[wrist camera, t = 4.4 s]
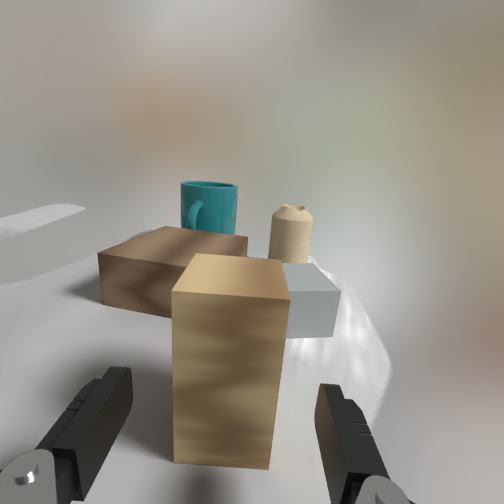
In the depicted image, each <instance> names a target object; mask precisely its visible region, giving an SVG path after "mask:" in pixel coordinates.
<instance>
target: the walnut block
mask: <svg viewBox="0 0 504 504" xmlns="http://www.w3.org/2000/svg"><path fill="white" fill-rule="evenodd" d="M247 245H248V237H245V236H238V235H230V234H223V233H215V232H207V231H200V230H192V229H185V228H177V227H169V226H164V227H161V228H159V229H156V230H154V231H151V232H149V233H146V234H144V235H141V236H139V237H136V238H134V239H131V240H129V241H126V242H124V243H121V244H118V245H116V246H113V247H111V248H108V249H106V250H103V251H101V252H98V263H99V273H100V283H101V293H102V302H103V305H107V306H112V307H117V308H122V309H127V310H132V311H137V312H142V313H147V314H152V315H157V316H162V317H167V318H172V300H171V290H172V289H173V287H174V286H175V284H176V283H177V281H178V280H179V278H180V277H181V275H182V274H183V272H184V271H185V269H186V268H187V266H188V265H189V263H190V262H191V260H192V259H193V257H194V255H195V254H196V253H199V254H212V255H225V256H238V257H247Z"/></svg>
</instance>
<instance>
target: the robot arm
mask: <svg viewBox="0 0 504 504" xmlns="http://www.w3.org/2000/svg"><path fill="white" fill-rule="evenodd" d="M132 401H133V390H132V375H131V369H130V368H127V367H114V366H111V367H110V368H109V369H108V370H107V372H106V373H105V374H104V376H103V377H102V379H94V380H92V381H91V382H90V383H88V384H87V385H86V386H84V387H83V388H82V389H81V390H80V392H79V393H78V394H77V396H76V397H75V398H74V400H73V401H72V402H71V403H70V405H69V406H68V407H67V408H66V411H64V412H63V414H62V415H61V416H60V417H59V419H58V420H57V421H56V423H55V424H54V425H53V426H52V428H51V429H50V430H49V432H48V433H47V434H46V436H45V437H44V438H43V439H42V441H41V442H40V443H39V445H38V446H37V447H36V448H35V449H34V450H32V451H29V452H26V453H24V454H22V455H20V456H19V457H17V458H16V459H14V460H13V461H12V462H10V463H9V464H8V465H7V466H6V467H5V468H4V469H3V470H0V504H70V503H71V501H72V500H74V501H84V500H85V498H86V496H87V494H88V492H89V490H90V488H91V486H92V484H93V482H94V480H95V478H96V476H97V474H98V472H99V470H100V468H101V466H102V465H103V463H104V461H105V459H106V457H107V455H108V453H109V451H110V449H111V447H112V445H113V443H114V441H115V439H116V437H117V435H118V433H119V431H120V429H121V428H122V426H123V424H124V422H125V420H126V418H127V416H128V414H129V412H130V409H131V406H132ZM315 429H316V434H317V438H318V443H319V448H320V453H321V457H322V462H323V467H324V472H325V477H326V481H327V486H328V491H329V496H330V500H331V504H415V503H413V502H412V501H410V500H409V499H407V497H406V495H405V494H404V492H403V491H402V490H401V489H400V488H399V487H398V486H397V485H396V484H395V483H394V482H392V481H391V480H390V478H389V476H388V474H387V471H386V468H385V466H384V463H383V461H382V458H381V456H380V454H379V451H378V449H377V446H376V444H375V441H374V439H373V436H371V432H370V429H369V427H368V425H367V422H366V419H365V417H364V415H363V412H362V410H361V409H360V408H359V407H358V405H357V404H356V403H355V402H354V401H353V400H352V399H344V396H343V393H342V390H341V388H340V386H339V385H335V384H322V383H321V384H320V386H319V392H318V397H317V402H316V408H315Z"/></svg>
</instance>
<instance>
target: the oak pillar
mask: <svg viewBox="0 0 504 504" xmlns="http://www.w3.org/2000/svg"><path fill="white" fill-rule="evenodd" d="M171 300H172V369H173V438H174V463H181V464H195V465H209V466H223V467H237V468H251V469H265V470H269V463H270V455H271V447H272V440H273V432H274V424H275V417H276V409H277V401H278V393H279V386H280V378H281V370H282V363H283V355H284V347H285V339H286V332H287V324H288V316H289V308H290V301H291V299H290V295H289V291H288V286H287V282H286V278H285V274H284V270H283V265H282V261H281V260H278V259H264V258H251V257H238V256H225V255H212V254H199V253H196V254H195V255H194V257H193V259H192V260H191V262H190V263H189V265H188V266H187V268H186V269H185V271H184V272H183V274H182V275H181V277H180V278H179V280H178V281H177V283H176V284H175V286H174V287H173V289H172V290H171Z"/></svg>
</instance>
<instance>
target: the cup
mask: <svg viewBox="0 0 504 504" xmlns="http://www.w3.org/2000/svg"><path fill="white" fill-rule="evenodd" d="M237 192H238V186H236V185H233V184H227V183H218V182H205V181H186V182H182V183H181V228H185V229H192V230H200V231H207V232H215V233H223V234H230V235H235V226H236V208H237Z"/></svg>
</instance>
